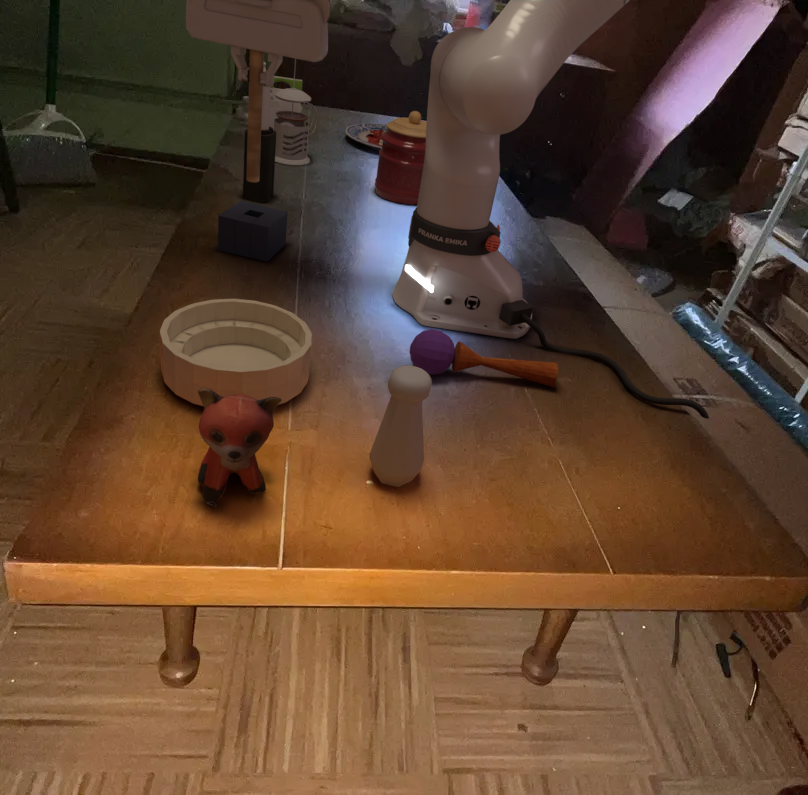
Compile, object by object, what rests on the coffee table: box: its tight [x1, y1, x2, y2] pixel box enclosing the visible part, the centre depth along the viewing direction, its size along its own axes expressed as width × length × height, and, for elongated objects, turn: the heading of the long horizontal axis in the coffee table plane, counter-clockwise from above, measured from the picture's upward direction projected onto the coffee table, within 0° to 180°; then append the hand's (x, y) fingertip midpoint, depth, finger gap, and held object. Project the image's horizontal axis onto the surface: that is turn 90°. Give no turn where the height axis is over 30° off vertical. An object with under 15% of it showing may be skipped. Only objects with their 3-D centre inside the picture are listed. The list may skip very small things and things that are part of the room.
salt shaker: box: [369, 365, 433, 488], centre depth 75 cm, size 6×6×13 cm
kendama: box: [409, 328, 559, 388], centre depth 98 cm, size 6×6×20 cm
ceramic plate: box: [344, 122, 388, 151], centre depth 193 cm, size 26×26×3 cm
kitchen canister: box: [374, 110, 427, 205], centre depth 155 cm, size 13×13×18 cm
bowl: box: [159, 298, 313, 407], centre depth 89 cm, size 18×18×6 cm
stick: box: [246, 49, 265, 182], centre depth 108 cm, size 2×2×22 cm
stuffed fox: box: [197, 389, 282, 508], centre depth 71 cm, size 8×11×12 cm
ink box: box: [269, 75, 303, 139], centre depth 183 cm, size 10×5×14 cm, turn 94°
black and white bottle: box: [242, 61, 276, 203], centre depth 138 cm, size 5×5×25 cm
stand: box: [217, 200, 289, 263], centre depth 122 cm, size 9×9×6 cm
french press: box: [274, 58, 319, 166], centre depth 163 cm, size 10×12×25 cm
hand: (255, 83), depth 106 cm, fingers closed on stick, 2 cm apart
